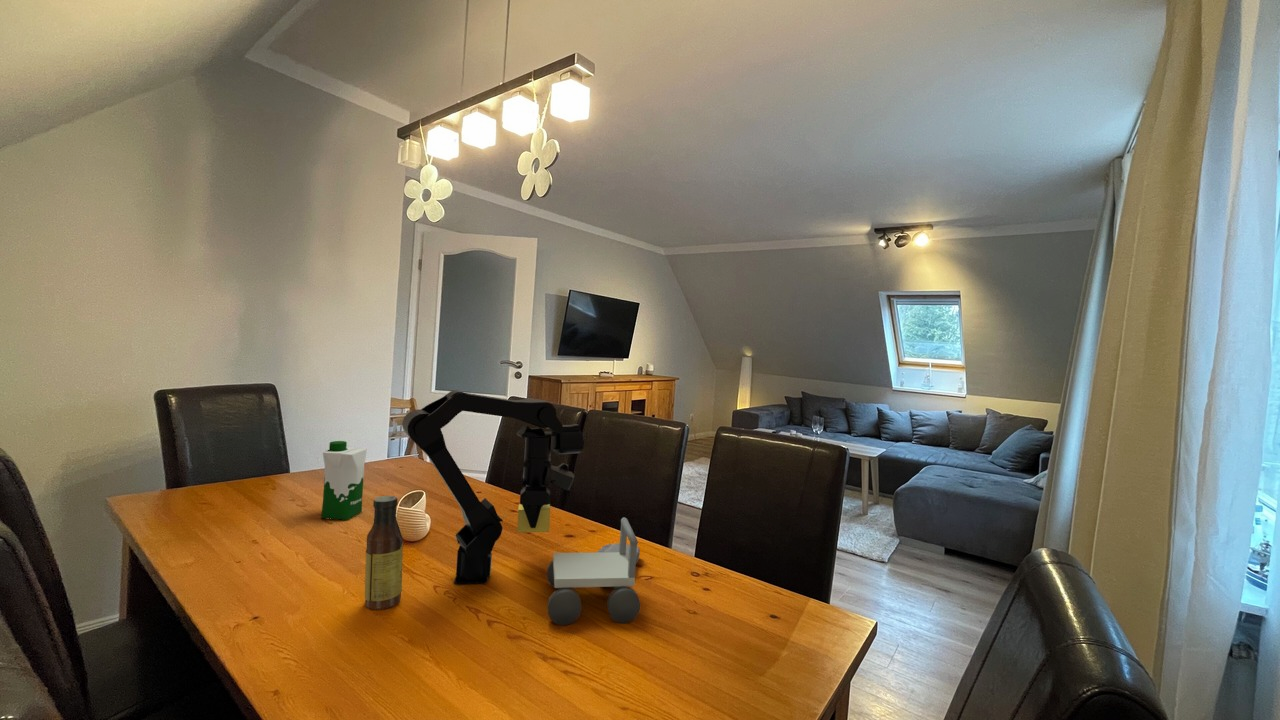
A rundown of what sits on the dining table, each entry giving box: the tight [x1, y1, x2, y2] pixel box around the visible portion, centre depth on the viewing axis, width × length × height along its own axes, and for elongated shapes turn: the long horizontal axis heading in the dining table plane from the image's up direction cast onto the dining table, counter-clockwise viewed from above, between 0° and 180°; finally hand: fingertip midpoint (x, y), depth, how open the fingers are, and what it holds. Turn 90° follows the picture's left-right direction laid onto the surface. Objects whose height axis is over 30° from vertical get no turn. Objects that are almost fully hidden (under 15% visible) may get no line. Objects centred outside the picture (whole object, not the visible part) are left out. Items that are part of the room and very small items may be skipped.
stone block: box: [597, 542, 641, 565], centre depth 120 cm, size 12×5×10 cm
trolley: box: [546, 517, 641, 626], centre depth 102 cm, size 17×16×15 cm
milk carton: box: [320, 440, 368, 521], centre depth 140 cm, size 9×9×20 cm
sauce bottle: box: [364, 495, 404, 611], centre depth 96 cm, size 6×6×20 cm
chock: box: [516, 503, 551, 533], centre depth 116 cm, size 7×4×5 cm, turn 101°
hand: (533, 524), depth 116 cm, fingers closed on chock, 4 cm apart
